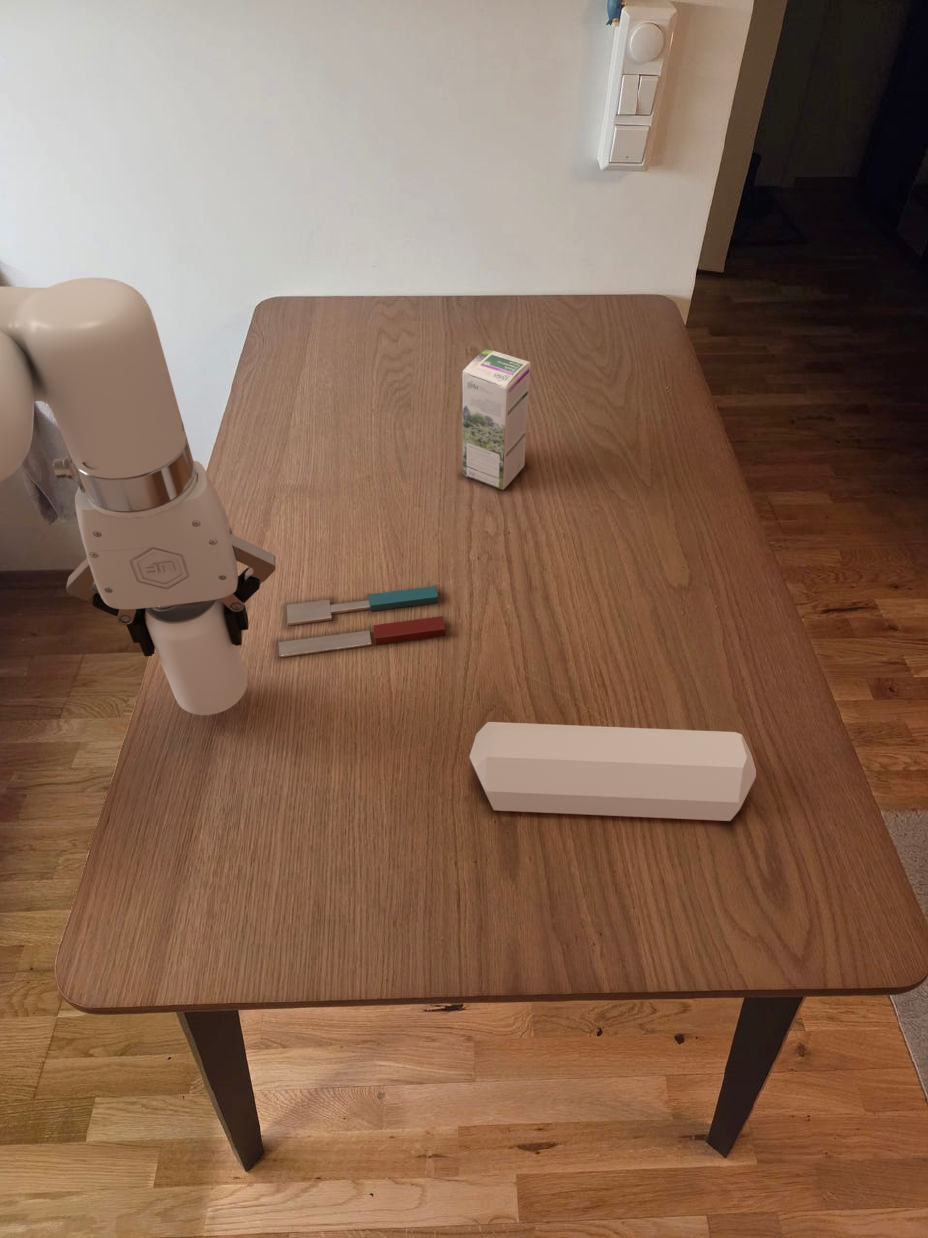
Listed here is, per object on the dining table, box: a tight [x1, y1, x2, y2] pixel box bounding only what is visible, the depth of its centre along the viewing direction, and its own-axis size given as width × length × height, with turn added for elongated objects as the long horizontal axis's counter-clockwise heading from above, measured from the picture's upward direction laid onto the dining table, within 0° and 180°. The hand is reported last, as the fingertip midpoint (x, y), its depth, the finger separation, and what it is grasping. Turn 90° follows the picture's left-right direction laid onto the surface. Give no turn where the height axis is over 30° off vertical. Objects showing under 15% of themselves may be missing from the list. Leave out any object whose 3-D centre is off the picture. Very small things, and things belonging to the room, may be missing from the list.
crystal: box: [468, 721, 757, 822], centre depth 73 cm, size 7×7×24 cm
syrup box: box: [461, 348, 531, 491], centre depth 98 cm, size 6×6×14 cm
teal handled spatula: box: [286, 585, 439, 626], centre depth 88 cm, size 15×3×1 cm, turn 100°
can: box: [145, 599, 248, 716], centre depth 73 cm, size 6×6×12 cm
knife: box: [278, 615, 446, 658], centre depth 85 cm, size 16×2×1 cm, turn 100°
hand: (194, 637), depth 72 cm, fingers closed on can, 6 cm apart
